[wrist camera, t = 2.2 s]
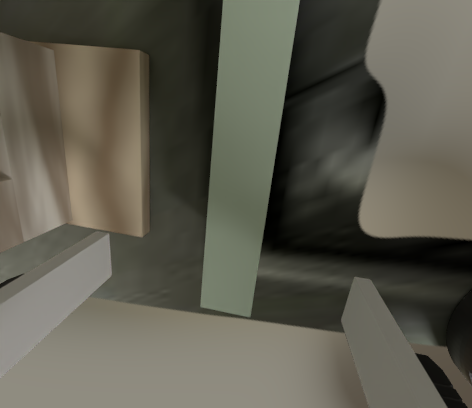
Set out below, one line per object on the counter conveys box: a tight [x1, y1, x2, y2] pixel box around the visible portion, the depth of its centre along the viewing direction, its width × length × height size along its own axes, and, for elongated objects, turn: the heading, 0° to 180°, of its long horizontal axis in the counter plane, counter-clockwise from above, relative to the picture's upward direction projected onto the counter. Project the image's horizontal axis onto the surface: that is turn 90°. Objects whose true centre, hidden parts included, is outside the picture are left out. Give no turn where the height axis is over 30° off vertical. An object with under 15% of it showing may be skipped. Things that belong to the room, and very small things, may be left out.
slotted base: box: [0, 32, 150, 253], centre depth 19 cm, size 18×16×12 cm
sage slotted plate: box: [200, 0, 300, 317], centre depth 17 cm, size 16×3×10 cm, turn 174°
